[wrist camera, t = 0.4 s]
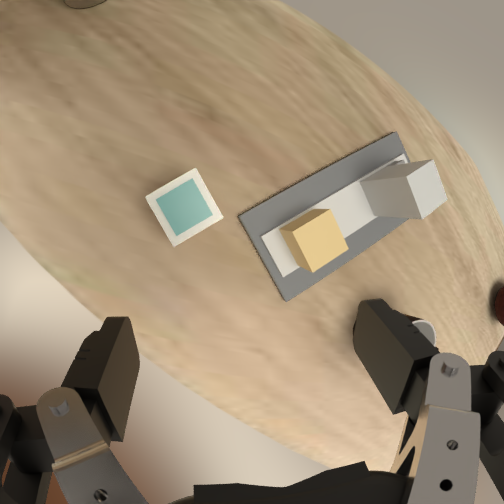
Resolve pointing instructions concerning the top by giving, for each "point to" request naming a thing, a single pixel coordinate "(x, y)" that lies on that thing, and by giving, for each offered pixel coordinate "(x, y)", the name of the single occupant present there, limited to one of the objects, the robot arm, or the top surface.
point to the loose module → (184, 207)
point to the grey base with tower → (340, 213)
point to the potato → (500, 305)
